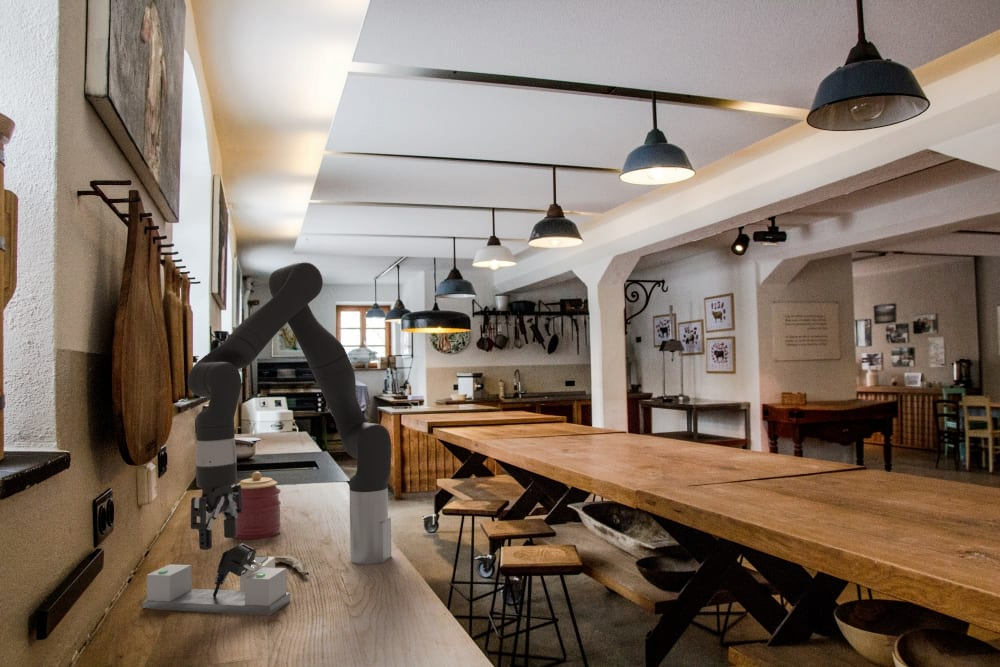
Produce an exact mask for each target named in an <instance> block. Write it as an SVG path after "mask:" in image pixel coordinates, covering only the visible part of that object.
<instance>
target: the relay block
mask: <svg viewBox="0 0 1000 667" xmlns="http://www.w3.org/2000/svg"><path fill="white" fill-rule="evenodd" d="M275 557H276V556H270V557H255V559H254V560H255V561H257V562H259V563H261V564H262V567H261V568H263V567H265V568H276V561H275ZM251 566H252V567H254V568H255V571H254V572H252V571H250V570H248V571H247V572H246V573H245V574H244V575H241V576H239V591H245V578H246V577H248V576H249V575H251V574H253V573H255V572H256V571H258V570H260V569H261V568H259V567H257V566H255V565H253V564H252V565H251Z"/></svg>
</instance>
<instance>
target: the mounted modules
mask: <svg viewBox="0 0 1000 667" xmlns="http://www.w3.org/2000/svg"><path fill="white" fill-rule="evenodd" d="M192 589H193V588H192V565H191V564H171V563H169V564H167V565H165V566H164V567H161V568H158V569H156V570H155V571H152V572H150V573H148V574H146V599H147V600H148V601H171V600H173V599H175V598H177V597H179V596H181V595H183V594H184V593H186V592H188V591H190V590H192ZM286 592H287V568H286V567H275V568H265V567H263V568H261V569H260V570H258V571H256V572H255V573H253V574H251V575H249V576H248V577H246V578H245V605H265V606H269V605H271V604H272V603H274V602H275V601H276V600H278V599H279V598H281V597H282V596H283V595H285V594H286Z"/></svg>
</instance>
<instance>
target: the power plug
mask: <svg viewBox="0 0 1000 667" xmlns="http://www.w3.org/2000/svg"><path fill="white" fill-rule="evenodd" d="M256 553H257V550H256V548H253V547H251V546H249V545H247V544H245V543H243V542H242V543H240V544H239V545H236V546H234V547H232V548H230V549H228V550H225V551H224V552H222V555H221V557H220V561H219V563H218V566H217V571H216V576H215V581H214V584H215V588H214V590H215V591H214V593H213V597H216V595H217V592H218V590H220V587H221V585H223V584H224V583H225V581H226V579H227V577H228V576H229V573H232V574H233V575H235V576H236V577H237V576H238V577H240V576H241V575H244V574H245V573H246V572H247V571H248V570H250V571H252V572H254V571H255V568H254V567H252V566H251V565H252V564H253V565H255V566H257V567H259V568H261V567H262V564H261V563H259V562H257V561H255V560H254V559H255V556H256Z"/></svg>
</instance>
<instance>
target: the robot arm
mask: <svg viewBox="0 0 1000 667" xmlns="http://www.w3.org/2000/svg"><path fill="white" fill-rule="evenodd" d="M268 279H269V280H268V288H269V292H270V294H271V296H272V298H270V299H269V300H268V301H267V302H266V303H265V304H264V305H262V306H261V307H259V309H257V310H255V311H254V312H253V313H252V314H250V315H249V316H248V317H246V318H245V319H244V320H243V321H242V322H241V323H240V324H239V325H238V326H237V327H236V328H234V329H233V331H232V332H231V334H230V335H228V337H226V339H225V341H223V343H222V344H220V345H218V346H217V347H215V348H214V349H213V350H211V351H210V352H208V353H207V354H205V355H204V356H203V357H201V358H200V359H199V360H198V361H197V362H196V363H195V364H194V365H193V366H192V368H191V369H190V372H189V373H188V377H187V386H188V388H189V391H191V393H192V394H194V395H195V396H197V397H201V398H210V399H209V403H208V406H207V408H206V409H204V410H202V411H200V412H198V413H197V416H196V448H195V469H196V470H195V473H196V474H195V475H196V477H195V478H196V479H195V480H196V483H195V484H196V487H197V488H199V489H201V490H202V492H201V496H200V497H198V496H196V497H192V498H191V500H190V529H191V530H197V531H198V543H199V544H198V546H199V549H200V550H204V551H206V550H207V551H208V550H210V549H212V548H213V542H212V541H213V533H212V532H213V531H212V528H213V527H212V526H213V524H214V521H215V520H217V518H218V517H219V514H222V516H223V518H224V519H223V532H224V533H223V536H224V538H225V539H233V538H235V536H236V518H237V517H238V513H242V496H241V485H237V482H238V473H237V472H238V470H237V469H238V468H237V465H238V463H237V446H236V440H235V437H236V436H235V435H236V434H235V414H236V412H237V407H238V403H239V399H240V395H241V394H240V393H241V390H242V376H241V373H240V371H239V369H245V368H246V367H249V366H250V365H251V364H252V363H253V362H254V361H255V359H257V357H258V356H259V355H260V353H261V352H262V351H263V350H264V348H266V347H267V345H268V344H269V343H270V342H271V341H272V339H273V338H274V337H275V336H276V335H277V333H279V332H280V331H281V329H283V327H285V325H286V324H288V326H289V328H290V329H291V331H292V333H293V335H294V337H295V339H296V342H297V344H298V345H299V347H300V349H301V351H302V353H303V355H304V358H305V359H306V360H305V361H306V362H307V364H308V367H309V369H310V371H311V373H312V375H313V377H314V380H315V382H316V384H317V386H318V387H319V390H320V392H321V394H322V396H323V398H324V401H325V402H326V404H327V407H328V408H329V410H330V413H331V414H332V417H333V420H334V423H335V426H336V428H337V431H338V433H339V436H340V440H341V443H342V445H343V447H344V449H345V452H346V453H347V455H349V456H350V457H351V458H352V459H353V458H354V459H355V460H357V461H356V464H357V465H356V472H355V474H354V475H353V476H351V477H349V484H348V485H349V489H348V490H349V545H350V548H349V550H350V551H349V555H350V562H351V563H353V564H357V565H371V564H372V565H374V564H384V563H385V562H386V561H388V560H389V559H390V558H391V557H392V519H391V517H389V507H388V506H389V504H388V503H389V501H388V500H389V496H388V492H389V491H388V490H389V489H388V488H389V487H388V484H389V479H390V477H391V471H392V439H391V436H390V433H389V430H388V428H386V427H385V426H384V425H382V424H379V423H372V422H369V421H368V420H367V418H366V416H365V414H364V412H363V410H362V408H361V405H360V404H359V402H358V397H357V389H356V388H357V387H356V386H357V384H356V373H355V369H354V367H353V364H352V362H351V360H350V357H349V355H348V353H347V351H346V349H345V347H344V345H343V344H342V343H341V342H340V341H339V339H338V338H336V337H335V335H334V334H332V333H331V332H330V331H329V330H327V328H325V327H324V325H322V324H321V323H320V321H318V320H317V318H316V317H315V315H314V313H313V311H312V309H311V307H310V305H309V304H310V303H311V302H312V301H313V300H315V299H316V298H317V297H318V296H319V294H320V293H321V291H322V289H323V284H324V283H323V282H324V280H323V275H322V273H321V271H320V270H319V269H318V267H317V266H316V265H314V264H312V263H311V262H306V261H300V262H294V263H291V264H289V265H285V266H284V267H279V268H277V269H276V270H274V271H272V272H271V274H270V276H269V278H268ZM234 502H236V503H237V507H236V505H235V503H234ZM197 517H198V518H197ZM197 520H198V521H197Z"/></svg>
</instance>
